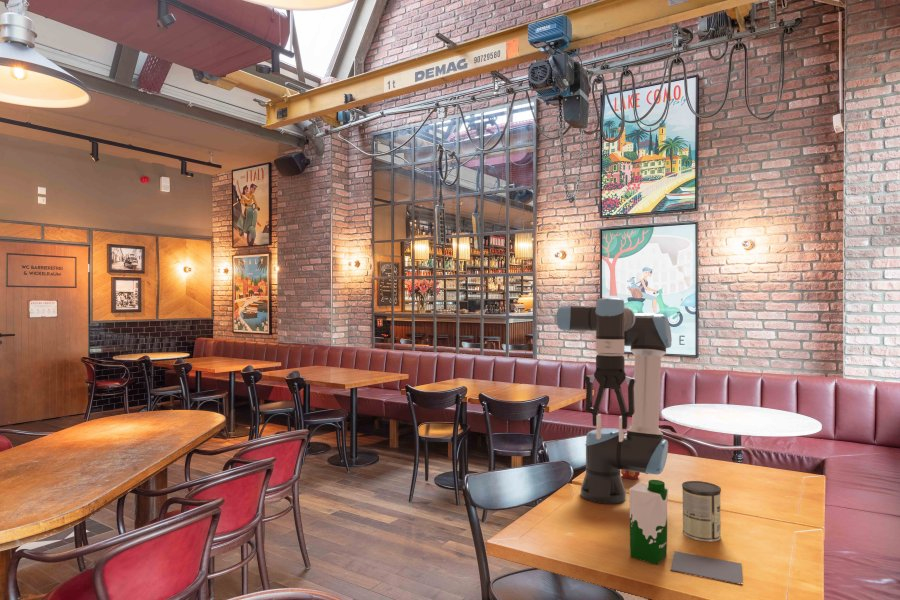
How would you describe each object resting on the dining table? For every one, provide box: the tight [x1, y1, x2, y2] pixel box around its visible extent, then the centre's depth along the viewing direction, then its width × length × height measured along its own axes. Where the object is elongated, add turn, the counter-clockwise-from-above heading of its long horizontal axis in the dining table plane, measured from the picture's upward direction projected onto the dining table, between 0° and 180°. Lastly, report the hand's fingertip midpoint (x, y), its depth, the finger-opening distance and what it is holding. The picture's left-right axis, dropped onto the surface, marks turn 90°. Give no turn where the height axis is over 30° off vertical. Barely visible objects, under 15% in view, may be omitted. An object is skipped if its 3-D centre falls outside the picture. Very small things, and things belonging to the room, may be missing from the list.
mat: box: [670, 550, 744, 584], centre depth 140 cm, size 16×12×1 cm
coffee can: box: [681, 480, 722, 543], centre depth 161 cm, size 10×10×14 cm
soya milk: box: [628, 479, 669, 565], centre depth 147 cm, size 9×9×20 cm
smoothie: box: [620, 425, 641, 480], centre depth 216 cm, size 8×8×20 cm
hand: (609, 439), depth 151 cm, fingers open, 5 cm apart
